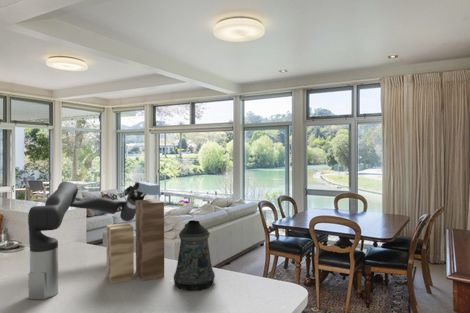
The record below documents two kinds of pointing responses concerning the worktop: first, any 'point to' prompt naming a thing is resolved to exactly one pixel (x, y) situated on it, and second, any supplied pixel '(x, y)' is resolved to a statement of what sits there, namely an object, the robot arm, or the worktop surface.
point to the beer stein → (194, 259)
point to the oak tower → (120, 252)
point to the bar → (148, 188)
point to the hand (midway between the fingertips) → (143, 183)
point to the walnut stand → (149, 238)
